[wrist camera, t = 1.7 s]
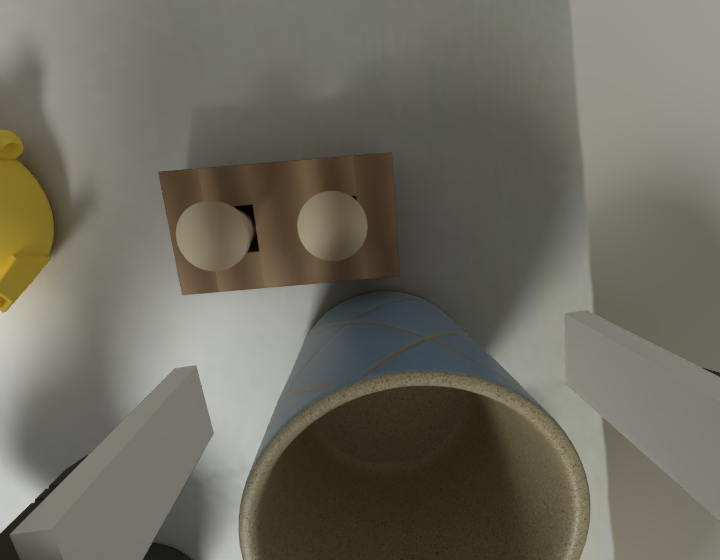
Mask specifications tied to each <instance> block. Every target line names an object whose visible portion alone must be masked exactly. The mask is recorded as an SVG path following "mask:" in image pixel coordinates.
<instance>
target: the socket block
mask: <svg viewBox="0 0 720 560" xmlns="http://www.w3.org/2000/svg"><path fill="white" fill-rule="evenodd" d="M158 173H159V178H160V183H161V188H162V194H163V199H164V204H165V209H166V214H167V219H168V224H169V229H170V235H171V240H172V245H173V250H174V255H175V260H176V265H177V271H178V276H179V281H180V286H181V291H182V295H190V294H201V293H212V292H224V291H235V290H247V289H258V288H270V287H281V286H293V285H304V284H316V283H327V282H339V281H350V280H362V279H373V278H385V277H396V276H399V260H398V244H397V227H396V210H395V193H394V177H393V160H392V152H391V153H379V154H367V155H355V156H343V157H331V158H319V159H307V160H295V161H283V162H271V163H259V164H247V165H234V166H222V167H210V168H198V169H186V170H174V171H162V172H158ZM325 191H339V192H343V193H345V194H348V195H349V196H355V200H356V201H357V202H358V203H359V204H360V205H361V207H362V208H363V210H364V212H365V215H366V218H367V234H366V238H365V240H364V243H363V244H362V246H361V247H360V249H359V250H358V251H357V252H356V253H355V254H353V255H352V256H350V257H348V258H346V259H343V260H340V261H326V260H322V259H320V258H317V257H315V256H314V255H312V254H311V253H310V252H309V251H308V250H307V249H306V248H305V247H304V245H303V244H302V242H301V240H300V238H299V234H298V228H297V223H298V217H299V214H300V211H301V209H302V207H303V206H304V204H305V203H306V202H307V201H308V200H309V199H310V198H311V197H313V196H314V195H316V194H318V193H321V192H325ZM204 201H220V202H224V203H227V204H229V205H231V206H241V205H253V210H254V217H255V224H256V231H257V238H258V245H254V246H250V247H249V250H248V252H247V254H246V255H245V257H244V258H243V259H242V260H241V261H240V262H238V263H237V264H235V265H234V266H232V267H230V268H228V269H226V270H222V271H207V270H203V269H200V268H198V267H196V266H194V265H193V264H191V263H190V262H189V261H188V260H187V259H186V258H185V257H184V256H183V254H182V253H181V251H180V249H179V247H178V244H177V240H176V227H177V223H178V220H179V218H180V216H181V215H182V214H183V212H184V211H185V210H186V209H187V208H189V207H190V206H192V205H194V204H196V203H199V202H204Z"/></svg>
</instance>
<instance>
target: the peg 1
mask: <svg viewBox="0 0 720 560" xmlns="http://www.w3.org/2000/svg"><path fill="white" fill-rule="evenodd" d="M256 234H257V231H256V224H255V221H254V219H253V218H252V216H251V215H250V214H248V213H247V212H245V211H243V210H240V209H236V208H235V207H233V206H231V205H229V204H227V203H224V202H220V201H204V202H199V203H196V204H194V205H192V206H190V207H189V208H187V209H186V210H185V211H184V212H183V214H182V215H181V216H180V218H179V220H178V223H177V227H176V240H177V244H178V247H179V249H180V251H181V253H182V254H183V256H184V257H185V258H186V259H187V260H188V261H189V262H190V263H191V264H193V265H194V266H196V267H198V268H200V269H203V270H207V271H222V270H226V269H228V268H230V267H232V266H234V265H235V264H237V263H238V262H240V261H241V260H242V259H243V258H244V257H245V255H246V254H247V252H248V250H249V247H250V244H251V243H252V242H253V241H254V239H255V237H256Z"/></svg>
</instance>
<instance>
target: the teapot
mask: <svg viewBox="0 0 720 560" xmlns="http://www.w3.org/2000/svg"><path fill="white" fill-rule="evenodd" d="M23 150H24V145H23V142H22V140H21V139H20V137H19V136H18V135H17V134H15V133H13V132H11V131H8V130H0V311H2V312H6V311H7V310H8V309H9V308H10V307H11V305H12V304H13V303H14V302H15V301H16V300H17V299H18V297H19V296H20V295H21V294H22V293H23V292H24V291H25V290H26V288H27V287H28V286H29V285H30V284H31V283H32V282H33V280H34V279H35V278H36V276H37V275H38V274H39V273H40V271H41V270H42V269H43V268H44V266H45V265H46V264H47V263H48V261H49V260H50V258H49V257H48V256H49V253H50V250H51V247H52V243H53V237H54V221H53V215H52V210H51V207H50V204H49V201H48V199H47V197H46V195H45V193H44V191H43V189H42V188H41V186H40V185H39V183H38V181H37V180H36V179H35V178H34V176H33V175H32V174H31V172H30V171H29V170H28V169H27V168H26V167H25V166H24V165H23V164H22V163H20V162H19V161H18V160H17V159H16V158H18V157H20V156H21V154H22V153H23Z"/></svg>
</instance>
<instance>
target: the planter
mask: <svg viewBox="0 0 720 560" xmlns="http://www.w3.org/2000/svg"><path fill="white" fill-rule="evenodd" d="M589 522H590V494H589V487H588V482H587V477H586V474H585V471H584V468H583V465H582V462H581V460H580V458H579V456H578V453H577V451H576V449H575V447H574V446H573V444H572V442H571V440H570V439H569V437H568V436H567V435H566V433H565V432H564V430H563V429H562V428H561V427H560V425H559V424H558V423H557V422H556V421H555V419H554V418H553V417H552V416H551V415H550V414H549V413H548V412H547V411H546V410H545V409H544V408H543V407H542V406H541V405H540V404H539V403H538V402H537V401H536V400H535V399H534V398H533V397H532V396H531V395H530V394H529V393H528V392H527V391H526V390H525V389H524V388H523V387H522V386H521V385H520V384H519V383H518V382H517V381H516V380H515V379H514V378H513V377H512V376H511V375H510V374H509V373H508V372H507V371H506V370H505V369H504V368H503V367H502V366H501V365H500V364H499V363H498V362H497V361H496V360H495V359H494V358H493V357H492V356H491V355H490V354H488V353H487V352H486V351H485V350H484V349H483V348H482V347H481V346H480V345H479V344H477V343H476V342H475V341H474V340H473V339H472V338H471V337H470V336H469V335H468V334H467V333H466V332H465V331H464V330H462V329H461V328H460V327H459V326H458V325H457V324H456V323H455V322H454V321H453V320H452V319H451V318H450V317H449V316H448V315H447V314H446V313H445V312H443V311H442V310H441V309H439V308H438V307H437V306H435V305H433V304H432V303H430V302H428V301H426V300H424V299H422V298H419V297H417V296H413V295H410V294H406V293H401V292H393V291H379V292H371V293H366V294H362V295H358V296H355V297H353V298H350V299H348V300H346V301H344V302H342V303H340V304H339V305H337V306H335V307H334V308H332V309H331V310H330V311H328V312H327V313H326V314H324V315H323V316H322V317H321V318H320V319H319V321H318V322H317V323H316V324H315V326H314V327H313V328H312V330H311V331H310V333H309V334H308V336H307V337H306V339H305V341H304V343H303V345H302V348H301V350H300V353H299V355H298V358H297V360H296V362H295V365H294V367H293V369H292V372H291V374H290V376H289V378H288V381H287V383H286V385H285V387H284V389H283V391H282V394H281V396H280V398H279V400H278V403H277V405H276V408H275V410H274V413H273V415H272V417H271V420H270V422H269V425H268V427H267V430H266V432H265V435H264V437H263V440H262V443H261V445H260V448H259V450H258V453H257V455H256V458H255V460H254V463H253V465H252V468H251V470H250V473H249V475H248V478H247V481H246V484H245V487H244V491H243V494H242V499H241V504H240V511H239V541H240V548H241V553H242V557H243V560H579V559H580V556H581V554H582V551H583V548H584V545H585V542H586V538H587V534H588V528H589Z"/></svg>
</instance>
